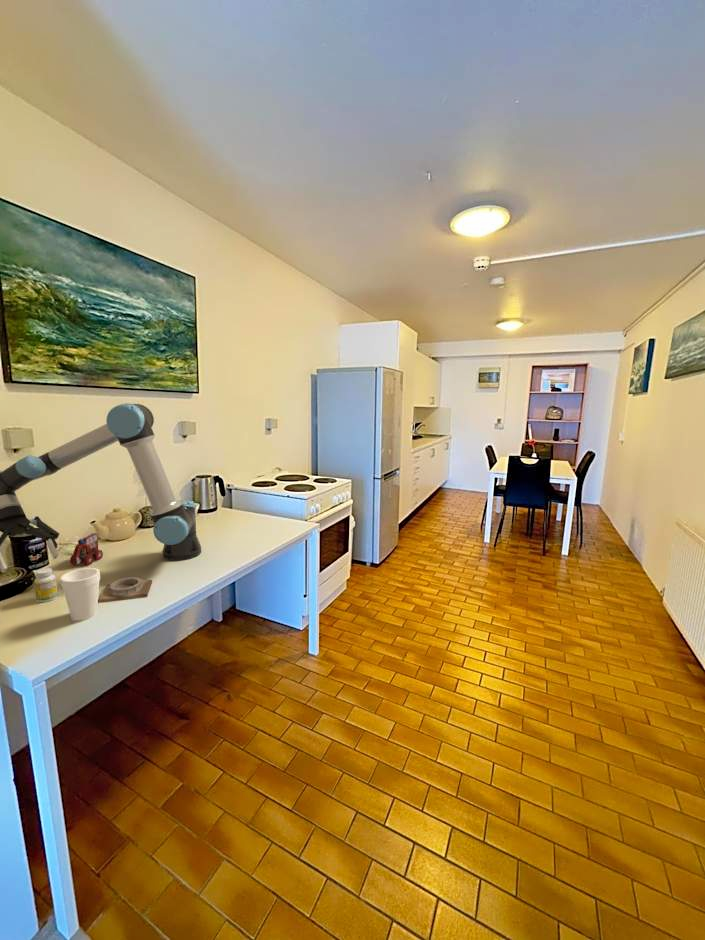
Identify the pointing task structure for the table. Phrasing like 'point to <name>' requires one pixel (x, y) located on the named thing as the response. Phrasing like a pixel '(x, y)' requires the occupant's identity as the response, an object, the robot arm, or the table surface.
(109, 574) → the table surface
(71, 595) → the foam cup
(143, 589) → the socket board
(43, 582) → the supplement bottle
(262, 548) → the table surface
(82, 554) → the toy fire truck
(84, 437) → the robot arm
